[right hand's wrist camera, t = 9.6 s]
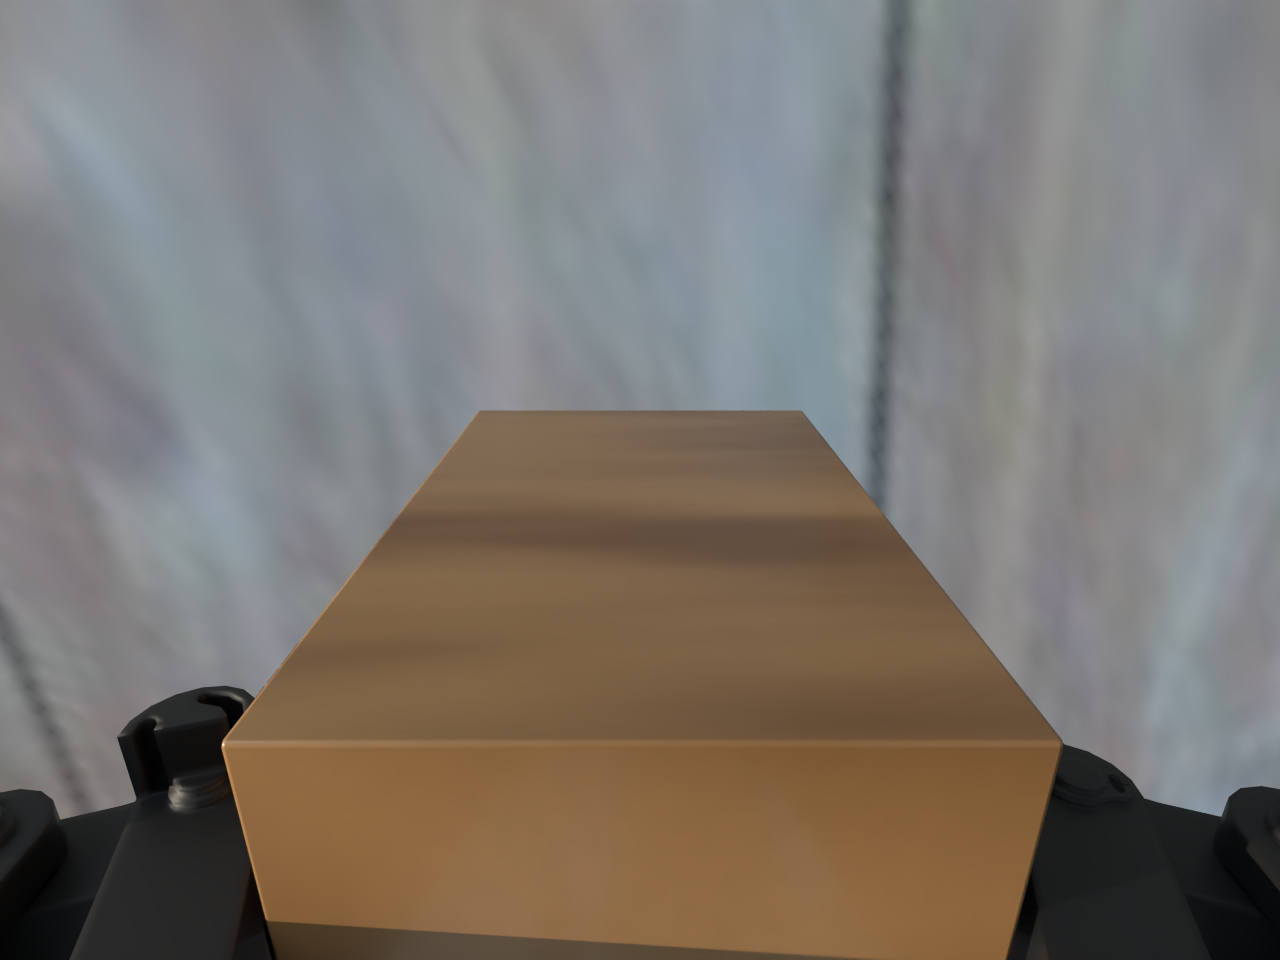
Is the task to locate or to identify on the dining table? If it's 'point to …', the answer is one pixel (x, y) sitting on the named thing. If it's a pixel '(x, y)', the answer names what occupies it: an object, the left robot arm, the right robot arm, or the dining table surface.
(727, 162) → the dining table surface
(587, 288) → the dining table surface
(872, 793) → the box
